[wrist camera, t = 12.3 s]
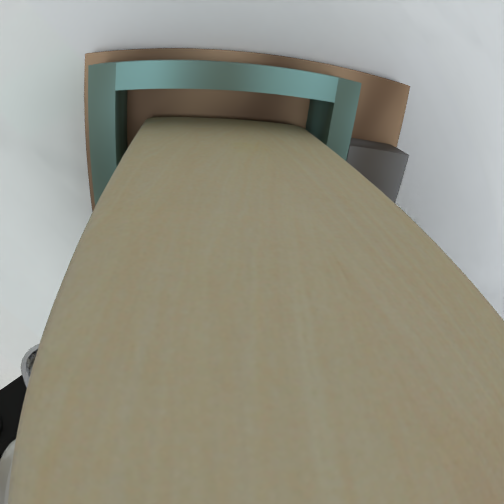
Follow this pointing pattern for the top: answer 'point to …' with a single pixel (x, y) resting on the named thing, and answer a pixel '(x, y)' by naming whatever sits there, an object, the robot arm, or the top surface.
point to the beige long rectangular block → (259, 339)
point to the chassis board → (242, 104)
